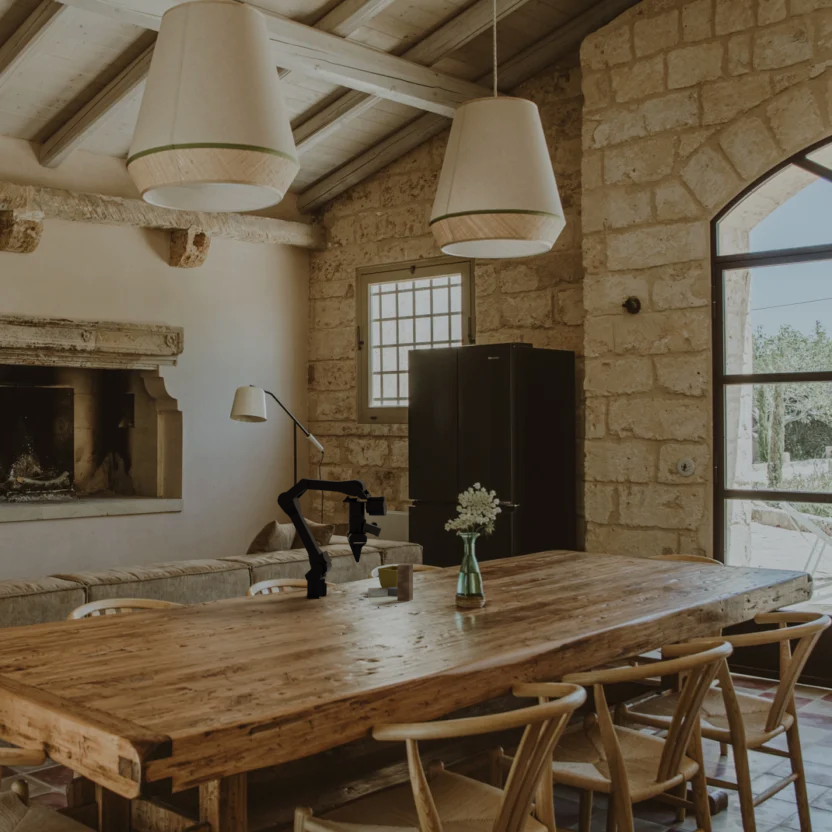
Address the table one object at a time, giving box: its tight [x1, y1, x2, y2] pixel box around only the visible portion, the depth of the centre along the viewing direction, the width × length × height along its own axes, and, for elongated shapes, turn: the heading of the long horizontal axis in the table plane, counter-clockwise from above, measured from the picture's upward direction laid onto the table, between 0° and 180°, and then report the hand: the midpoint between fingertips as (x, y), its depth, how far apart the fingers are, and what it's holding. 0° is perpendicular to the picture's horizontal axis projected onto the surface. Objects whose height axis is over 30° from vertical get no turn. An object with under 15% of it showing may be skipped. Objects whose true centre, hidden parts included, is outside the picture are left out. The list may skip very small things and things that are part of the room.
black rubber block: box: [387, 587, 397, 596], centre depth 351 cm, size 5×4×2 cm
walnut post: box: [396, 563, 414, 601], centre depth 341 cm, size 4×4×12 cm
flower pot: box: [377, 565, 397, 588], centre depth 360 cm, size 9×9×9 cm
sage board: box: [367, 594, 412, 603], centre depth 346 cm, size 14×16×1 cm
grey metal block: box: [367, 587, 388, 597], centre depth 350 cm, size 6×4×2 cm, turn 106°
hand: (356, 560), depth 349 cm, fingers open, 9 cm apart
